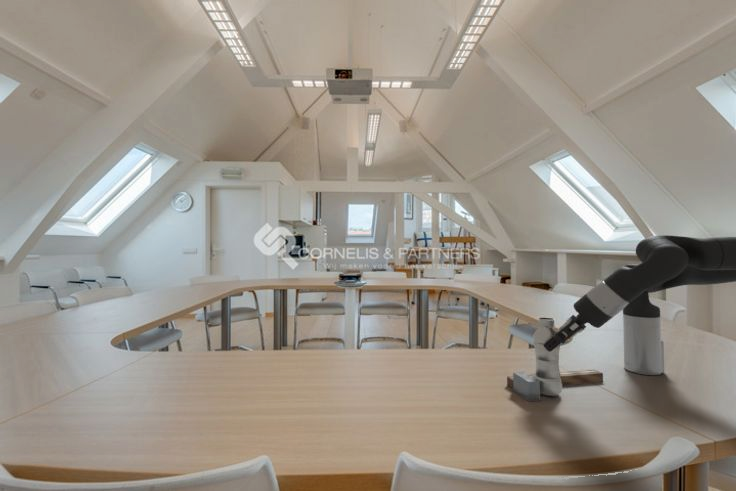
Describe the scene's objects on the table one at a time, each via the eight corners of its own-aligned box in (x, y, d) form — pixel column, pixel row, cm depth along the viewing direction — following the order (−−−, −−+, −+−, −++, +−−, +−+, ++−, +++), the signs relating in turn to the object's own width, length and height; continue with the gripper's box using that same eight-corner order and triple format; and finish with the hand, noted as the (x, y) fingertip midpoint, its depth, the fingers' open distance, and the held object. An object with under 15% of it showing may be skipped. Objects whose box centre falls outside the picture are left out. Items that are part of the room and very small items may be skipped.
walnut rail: (594, 377, 104) (594, 369, 105) (603, 381, 102) (602, 372, 102) (507, 385, 100) (507, 376, 100) (513, 389, 97) (512, 379, 97)
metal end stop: (523, 390, 97) (523, 371, 97) (540, 400, 90) (539, 381, 90) (513, 390, 96) (513, 372, 96) (529, 401, 89) (528, 382, 89)
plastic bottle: (566, 400, 90) (564, 321, 90) (537, 398, 91) (535, 320, 91) (558, 390, 96) (556, 316, 96) (531, 388, 97) (529, 316, 98)
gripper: (611, 321, 78) (556, 364, 85) (616, 311, 89) (566, 350, 96) (583, 295, 82) (531, 339, 89) (591, 289, 93) (544, 328, 100)
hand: (550, 344), depth 93 cm, fingers open, 8 cm apart
